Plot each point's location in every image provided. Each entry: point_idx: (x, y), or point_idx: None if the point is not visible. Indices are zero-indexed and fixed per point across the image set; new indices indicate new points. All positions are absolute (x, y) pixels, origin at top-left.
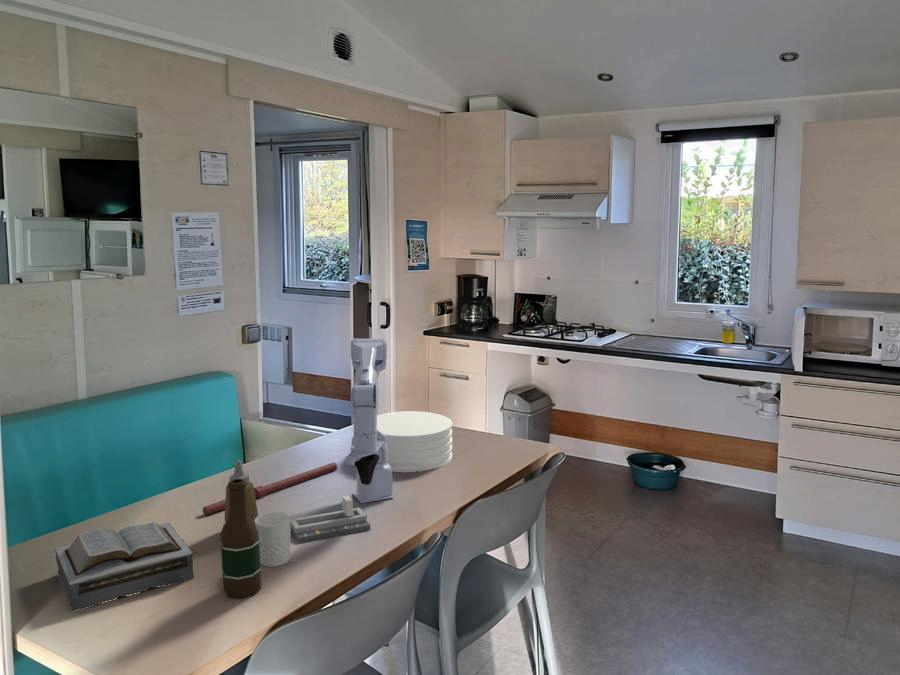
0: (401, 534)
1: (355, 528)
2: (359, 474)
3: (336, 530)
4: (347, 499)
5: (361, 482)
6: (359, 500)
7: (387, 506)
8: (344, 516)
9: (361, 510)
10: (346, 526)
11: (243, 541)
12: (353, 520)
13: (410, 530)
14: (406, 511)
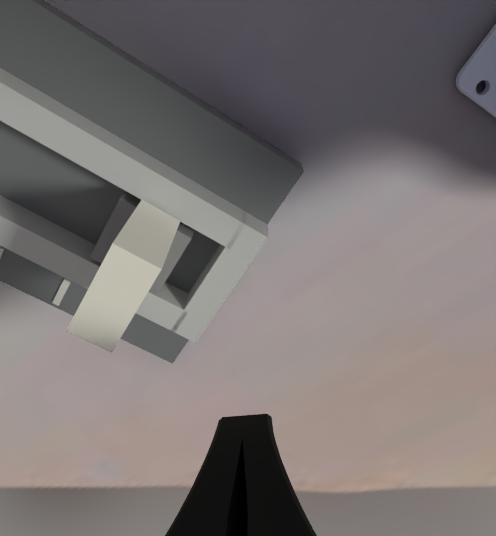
0: None
1: None
2: (191, 496)
3: (3, 273)
4: (97, 313)
5: (218, 427)
6: (477, 52)
7: (478, 248)
8: (94, 258)
9: (236, 276)
10: (75, 285)
11: None
12: None
13: None
14: (453, 360)
